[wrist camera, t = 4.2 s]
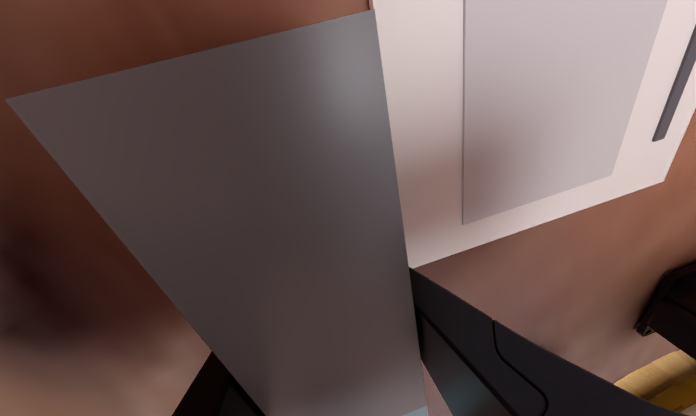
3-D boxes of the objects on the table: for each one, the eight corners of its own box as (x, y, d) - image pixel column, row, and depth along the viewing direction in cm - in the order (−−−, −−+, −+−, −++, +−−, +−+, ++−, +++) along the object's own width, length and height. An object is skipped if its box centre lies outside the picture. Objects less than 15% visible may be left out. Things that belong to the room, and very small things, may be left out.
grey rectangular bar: (321, 33, 7) (374, 9, 3) (390, 344, 13) (431, 443, 10) (151, 75, 6) (3, 99, 3) (311, 374, 13) (325, 488, 10)
